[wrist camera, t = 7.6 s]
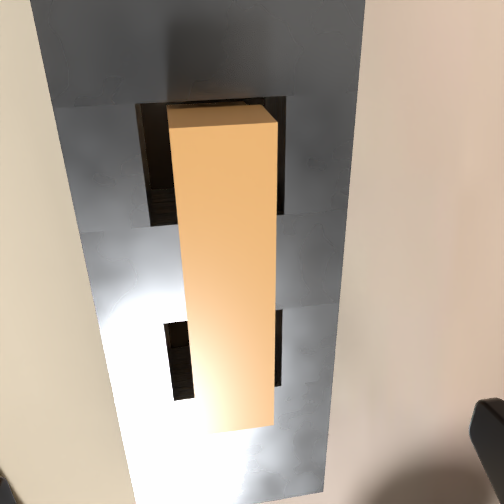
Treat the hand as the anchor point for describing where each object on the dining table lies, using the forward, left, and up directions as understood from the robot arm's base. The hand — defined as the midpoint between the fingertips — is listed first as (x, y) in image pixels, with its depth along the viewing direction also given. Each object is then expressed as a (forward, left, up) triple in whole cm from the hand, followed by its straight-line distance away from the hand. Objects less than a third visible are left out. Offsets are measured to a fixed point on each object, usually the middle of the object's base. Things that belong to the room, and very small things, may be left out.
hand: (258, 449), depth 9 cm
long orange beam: (0, 0, -10) cm, 10 cm away
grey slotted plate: (0, 0, -10) cm, 10 cm away
